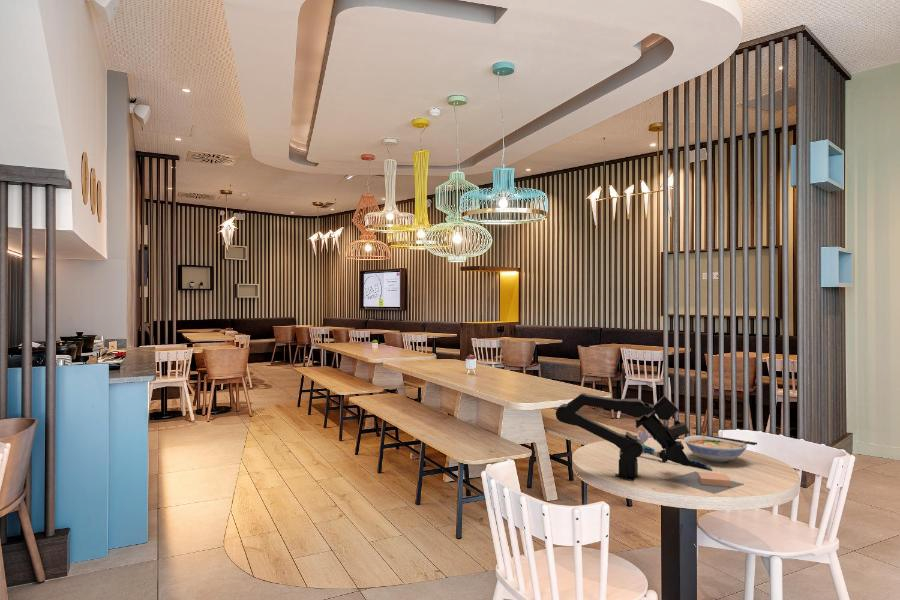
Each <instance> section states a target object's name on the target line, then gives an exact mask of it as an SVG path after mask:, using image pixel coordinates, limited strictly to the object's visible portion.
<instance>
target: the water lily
mask: <svg viewBox="0 0 900 600" xmlns="http://www.w3.org/2000/svg"><path fill="white" fill-rule="evenodd" d="M650 436H651V435H650V433H649V432H648V431H647V430H646V429H645V428H644V430H643V431H642V430H638V431H637V438H638V439H639V440H640V441H641V443H642V444H645V443H646V442H647V441H648V440H649V438H650Z"/></svg>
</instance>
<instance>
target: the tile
mask: <svg viewBox="0 0 900 600" xmlns="http://www.w3.org/2000/svg"><path fill="white" fill-rule="evenodd" d="M697 472H698V479H699V481H700V483H701V484H702V485H708V486H720V487H731V481H732V480H731V479H730V478H729V476H728V475H727V474H726V473H718V472H705V471H697Z"/></svg>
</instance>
